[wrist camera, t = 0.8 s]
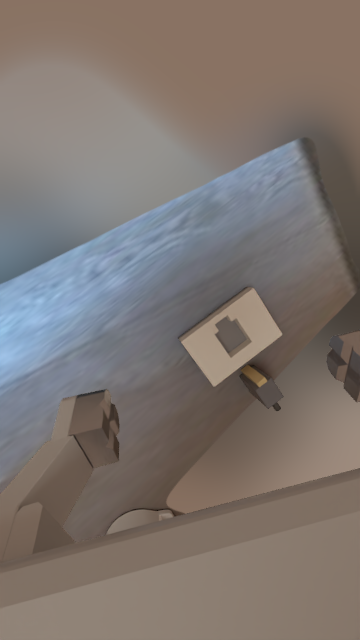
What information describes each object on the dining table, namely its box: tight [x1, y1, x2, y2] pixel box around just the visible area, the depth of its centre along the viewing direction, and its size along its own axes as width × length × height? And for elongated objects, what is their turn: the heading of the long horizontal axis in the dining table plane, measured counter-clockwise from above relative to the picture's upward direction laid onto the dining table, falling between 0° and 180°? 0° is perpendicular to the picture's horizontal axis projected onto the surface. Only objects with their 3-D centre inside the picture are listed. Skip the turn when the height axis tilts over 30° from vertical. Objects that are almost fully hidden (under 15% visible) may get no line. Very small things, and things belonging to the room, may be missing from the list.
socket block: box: [178, 287, 282, 387], centre depth 59 cm, size 12×18×4 cm, turn 125°
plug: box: [240, 365, 283, 411], centre depth 60 cm, size 9×4×8 cm, turn 35°
